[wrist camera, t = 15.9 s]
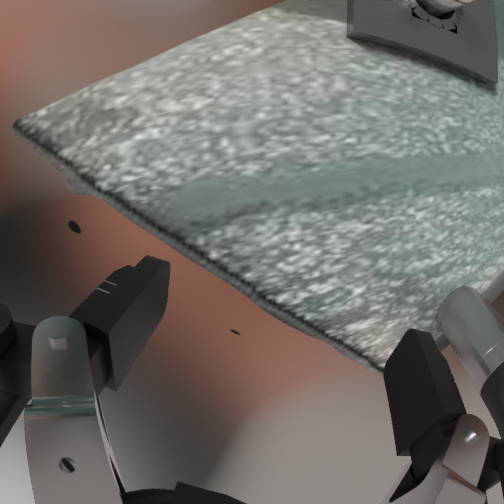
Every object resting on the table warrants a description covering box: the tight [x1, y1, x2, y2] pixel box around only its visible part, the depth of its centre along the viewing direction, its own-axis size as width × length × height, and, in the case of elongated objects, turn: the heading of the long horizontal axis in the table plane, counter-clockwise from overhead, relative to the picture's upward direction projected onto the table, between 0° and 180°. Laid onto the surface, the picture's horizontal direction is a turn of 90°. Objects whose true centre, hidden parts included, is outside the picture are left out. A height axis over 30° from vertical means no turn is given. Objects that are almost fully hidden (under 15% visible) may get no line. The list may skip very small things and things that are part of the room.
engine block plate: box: [347, 0, 498, 84], centre depth 23 cm, size 22×18×3 cm
